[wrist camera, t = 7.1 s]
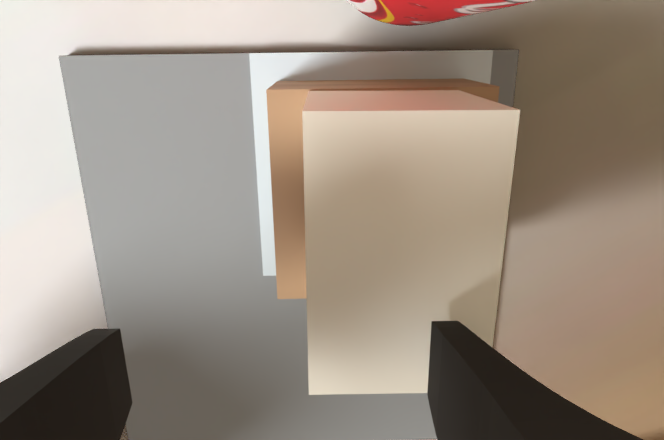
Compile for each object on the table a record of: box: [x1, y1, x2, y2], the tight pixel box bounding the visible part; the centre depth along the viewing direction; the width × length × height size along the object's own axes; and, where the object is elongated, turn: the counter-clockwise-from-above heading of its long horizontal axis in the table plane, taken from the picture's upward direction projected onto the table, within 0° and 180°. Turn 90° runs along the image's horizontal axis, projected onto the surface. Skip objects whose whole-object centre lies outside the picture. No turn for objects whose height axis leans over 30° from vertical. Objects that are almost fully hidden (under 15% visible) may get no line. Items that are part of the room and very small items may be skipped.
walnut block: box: [266, 78, 500, 299], centre depth 18 cm, size 7×7×4 cm
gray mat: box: [59, 50, 519, 440], centre depth 22 cm, size 18×17×1 cm
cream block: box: [302, 90, 520, 395], centre depth 14 cm, size 7×4×5 cm, turn 0°
